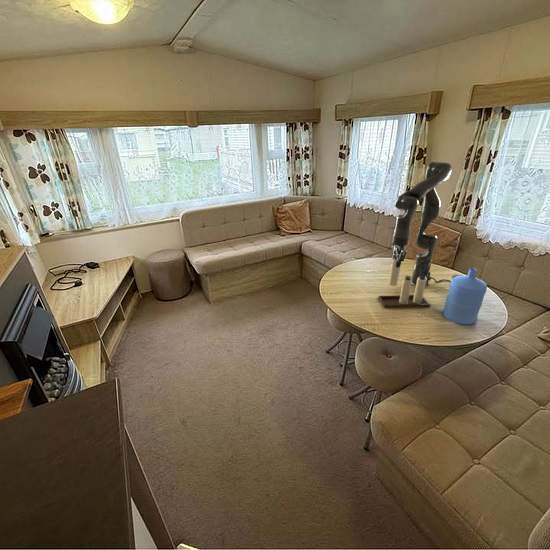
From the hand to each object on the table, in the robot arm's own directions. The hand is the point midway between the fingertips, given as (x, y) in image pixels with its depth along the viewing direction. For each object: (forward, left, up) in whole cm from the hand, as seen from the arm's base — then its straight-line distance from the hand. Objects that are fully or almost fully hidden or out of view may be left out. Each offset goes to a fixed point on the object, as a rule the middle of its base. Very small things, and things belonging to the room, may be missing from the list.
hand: (396, 264), depth 162 cm
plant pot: (-44, -7, -25) cm, 51 cm away
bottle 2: (-16, 0, -24) cm, 29 cm away
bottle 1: (-8, 0, -24) cm, 25 cm away
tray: (-8, 0, -25) cm, 26 cm away
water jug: (-32, +15, -25) cm, 43 cm away
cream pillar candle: (0, 0, -12) cm, 12 cm away
